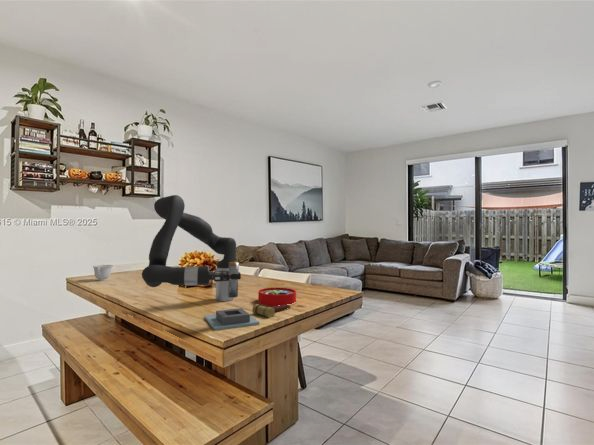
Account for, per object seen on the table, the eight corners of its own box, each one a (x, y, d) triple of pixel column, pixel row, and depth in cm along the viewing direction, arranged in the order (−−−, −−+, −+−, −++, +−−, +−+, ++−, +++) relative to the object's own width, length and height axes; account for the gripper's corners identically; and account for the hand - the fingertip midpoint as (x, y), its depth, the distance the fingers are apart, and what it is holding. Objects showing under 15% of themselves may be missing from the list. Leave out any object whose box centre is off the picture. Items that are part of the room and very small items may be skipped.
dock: (204, 317, 138) (204, 308, 138) (244, 313, 146) (245, 304, 146) (214, 330, 122) (214, 319, 122) (259, 324, 130) (259, 314, 130)
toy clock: (260, 287, 180) (295, 287, 181) (259, 297, 180) (295, 298, 181) (256, 294, 160) (296, 295, 161) (256, 306, 160) (296, 307, 161)
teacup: (87, 282, 214) (87, 267, 214) (96, 278, 229) (96, 264, 229) (107, 282, 217) (107, 267, 217) (114, 278, 231) (115, 264, 231)
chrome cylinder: (226, 295, 133) (227, 261, 133) (235, 295, 135) (237, 261, 135) (229, 297, 129) (230, 263, 130) (238, 297, 131) (240, 262, 132)
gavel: (283, 300, 162) (298, 303, 155) (282, 309, 161) (298, 313, 155) (252, 304, 146) (268, 308, 139) (251, 314, 145) (267, 319, 139)
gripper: (195, 268, 122) (241, 268, 126) (198, 264, 136) (239, 264, 140) (195, 288, 122) (241, 287, 126) (198, 282, 136) (239, 281, 140)
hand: (240, 275), depth 133 cm, fingers closed on chrome cylinder, 4 cm apart
